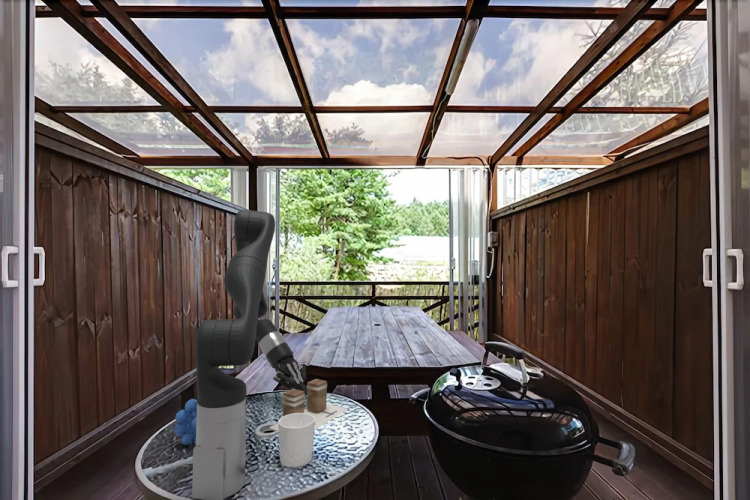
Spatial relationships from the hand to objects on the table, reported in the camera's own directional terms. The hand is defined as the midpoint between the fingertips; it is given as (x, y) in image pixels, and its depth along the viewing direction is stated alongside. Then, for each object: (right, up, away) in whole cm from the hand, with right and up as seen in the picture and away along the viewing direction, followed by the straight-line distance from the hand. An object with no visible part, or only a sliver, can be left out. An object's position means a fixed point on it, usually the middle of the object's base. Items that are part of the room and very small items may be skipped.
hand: (305, 395), depth 111 cm
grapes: (-22, -4, -19) cm, 30 cm away
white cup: (+3, -4, -29) cm, 29 cm away
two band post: (-1, -3, -11) cm, 11 cm away
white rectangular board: (+3, -5, -7) cm, 9 cm away
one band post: (+4, -3, -2) cm, 5 cm away
